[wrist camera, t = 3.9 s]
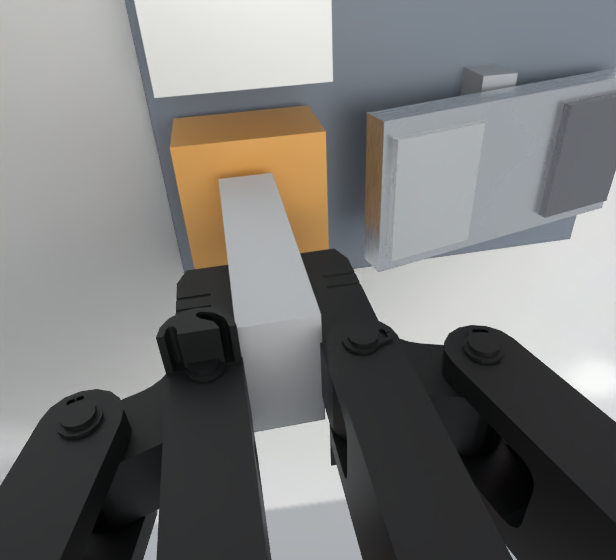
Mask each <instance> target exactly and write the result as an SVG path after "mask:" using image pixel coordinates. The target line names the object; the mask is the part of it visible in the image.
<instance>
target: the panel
mask: <svg viewBox="0 0 616 560" xmlns="http://www.w3.org/2000/svg"><path fill="white" fill-rule="evenodd" d="M125 4H126V8H127V13H128V17H129V22H130V26H131V31H132V36H133V40H134V45H135V49H136V54H137V58H138V63H139V68H140V72H141V77H142V81H143V86H144V90H145V95H146V100H147V104H148V109H149V113H150V118H151V122H152V127H153V132H154V136H155V141H156V145H157V150H158V154H159V159H160V164H161V168H162V173H163V177H164V182H165V186H166V191H167V196H168V200H169V205H170V209H171V214H172V218H173V223H174V228H175V232H176V237H177V241H178V246H179V251H180V255H181V260H182V264H183V269H184V273H185V272H186V270H193V269H194V264H193V259H192V254H191V250H190V245H189V240H188V235H187V230H186V225H185V220H184V215H183V210H182V205H181V201H180V196H179V191H178V186H177V181H176V176H175V171H174V166H173V161H172V156H171V152H170V142H171V134H172V126H173V119H174V118H184V117H194V116H204V115H215V114H225V113H235V112H245V111H256V110H266V109H276V108H287V107H297V106H307V105H308V106H309V107H310V109H311V110H312V112H313V113H314V115H315V116H316V118H317V119H318V121H319V122H320V124H321V125H322V127H323V128H324V130H325V131H326V160H327V198H328V235H329V249H336V250H337V251H338V252H340V253H341V254H343V255H344V256H345V257H347V258H348V260H349V262H350V264H351V266H352V268H353V269H355V268H363V267H370V266H372V265H371V264H370V263H369V262H368V261H367V260H366V259H365V258H364V234H365V181H366V128H367V112H373V111H379V110H384V109H390V108H395V107H401V106H407V105H412V104H418V103H423V102H429V101H435V100H440V99H446V98H451V97H457V96H463V95H468V94H474V93H479V92H485V91H491V90H496V89H502V88H507V87H513V86H519V85H524V84H530V83H536V82H541V81H547V80H552V79H558V78H564V77H569V76H575V75H580V74H586V73H592V72H597V71H603V70H608V69H614V68H616V0H332V56H333V82H323V83H313V84H302V85H291V86H280V87H269V88H258V89H247V90H237V91H226V92H215V93H204V94H193V95H182V96H172V97H161V98H154V93H153V88H152V84H151V79H150V74H149V69H148V64H147V60H146V55H145V50H144V45H143V41H142V36H141V31H140V26H139V22H138V17H137V12H136V7H135V2H134V0H125ZM575 219H576V215H575V216H571V217H568V218H564V219H561V220H557V221H554V222H550V223H547V224H543V225H540V226H536V227H533V228H529V229H526V230H523V231H519V232H516V233H512V234H509V235H505V236H502V237H498V238H495V239H491V240H488V241H484V242H481V243H477V244H474V245H470V246H467V247H464V248H460V249H457V250H453V251H450V252H446V253H443V254H439V255H436V256H432V257H429V258H435V257H442V256H449V255H456V254H463V253H471V252H478V251H485V250H492V249H499V248H507V247H514V246H521V245H528V244H535V243H543V242H550V241H557V240H564V239H570V237H571V233H572V229H573V226H574V222H575ZM425 259H427V258H425Z"/></svg>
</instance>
